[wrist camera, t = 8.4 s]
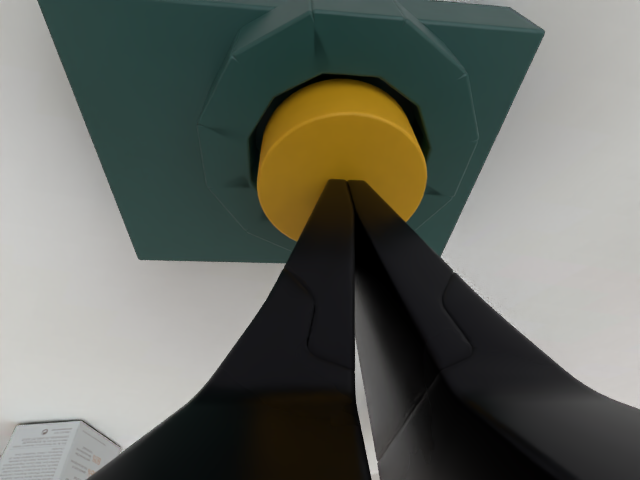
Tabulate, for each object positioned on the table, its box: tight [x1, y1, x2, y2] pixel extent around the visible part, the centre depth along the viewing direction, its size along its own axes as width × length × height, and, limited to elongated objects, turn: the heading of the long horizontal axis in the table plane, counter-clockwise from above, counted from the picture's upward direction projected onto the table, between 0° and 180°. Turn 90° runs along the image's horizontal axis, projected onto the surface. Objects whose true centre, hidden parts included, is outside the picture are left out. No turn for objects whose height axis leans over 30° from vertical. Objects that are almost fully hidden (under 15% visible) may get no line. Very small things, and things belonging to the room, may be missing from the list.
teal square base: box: [37, 0, 545, 263], centre depth 12 cm, size 10×12×4 cm
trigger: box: [257, 79, 427, 241], centre depth 9 cm, size 4×4×2 cm
